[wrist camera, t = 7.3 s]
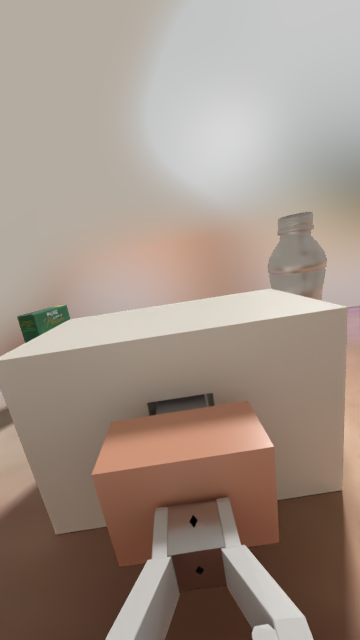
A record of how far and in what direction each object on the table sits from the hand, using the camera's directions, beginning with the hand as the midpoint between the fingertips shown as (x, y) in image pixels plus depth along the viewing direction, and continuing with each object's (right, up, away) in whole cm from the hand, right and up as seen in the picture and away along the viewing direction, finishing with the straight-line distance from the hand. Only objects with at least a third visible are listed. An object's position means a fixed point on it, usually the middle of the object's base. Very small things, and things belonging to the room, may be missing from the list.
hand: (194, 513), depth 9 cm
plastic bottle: (+16, 0, +22) cm, 27 cm away
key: (0, -1, +6) cm, 6 cm away
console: (+1, -4, +11) cm, 12 cm away
